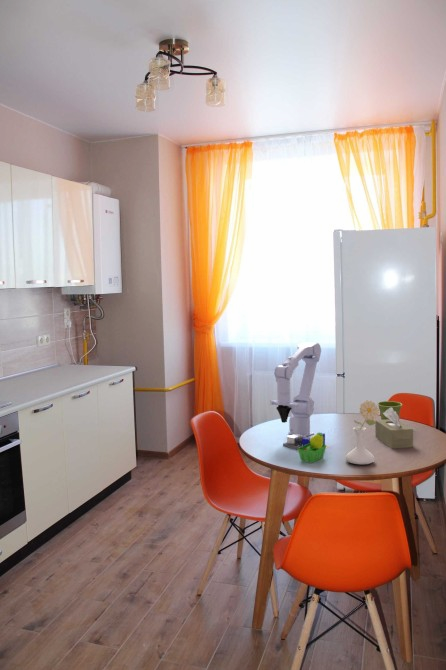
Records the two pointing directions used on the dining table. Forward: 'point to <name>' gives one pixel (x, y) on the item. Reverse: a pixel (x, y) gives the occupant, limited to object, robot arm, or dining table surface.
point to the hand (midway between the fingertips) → (284, 422)
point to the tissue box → (393, 431)
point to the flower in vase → (359, 452)
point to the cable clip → (307, 440)
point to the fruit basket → (313, 449)
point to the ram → (294, 439)
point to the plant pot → (388, 404)
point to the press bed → (295, 446)
